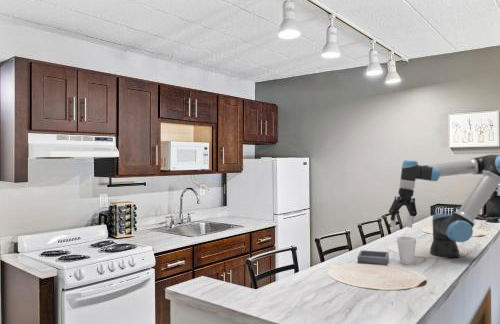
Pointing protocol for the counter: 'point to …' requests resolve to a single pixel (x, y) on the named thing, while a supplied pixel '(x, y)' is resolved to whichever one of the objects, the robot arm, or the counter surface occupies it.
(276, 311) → the counter surface
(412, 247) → the foam cup
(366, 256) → the bin
